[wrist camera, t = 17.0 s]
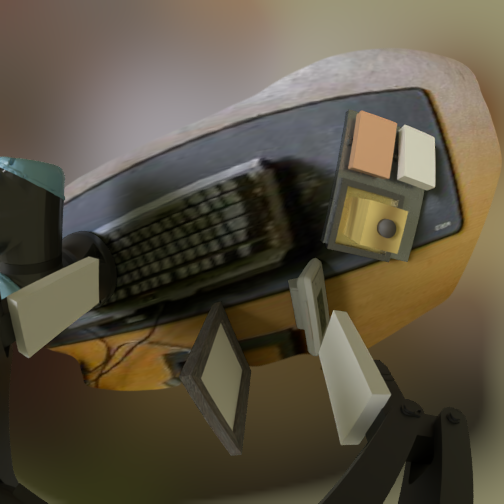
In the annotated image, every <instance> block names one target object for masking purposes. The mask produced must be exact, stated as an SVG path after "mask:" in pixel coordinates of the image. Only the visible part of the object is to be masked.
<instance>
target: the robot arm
mask: <svg viewBox="0 0 504 504" xmlns="http://www.w3.org/2000/svg"><path fill="white" fill-rule="evenodd" d="M64 181H65V175H64V172H63V170H62V169H61V168H60V167H58V166H56V165H53V164H49V163H44V162H40V161H34V160H27V159H20V158H10V157H0V504H48V503H47V502H45V501H44V500H42V499H41V498H39V497H38V496H36V495H35V494H34V493H32V492H31V491H29V490H28V489H27V488H25V487H24V486H23V485H21V484H20V483H18V481H17V479H16V477H15V474H14V471H13V466H12V459H11V448H10V434H9V388H10V374H11V363H12V354H13V348H12V343H13V342H14V341H16V343H17V347H18V351H19V352H20V353H22V354H23V355H25V356H26V357H28V358H30V357H31V356H32V355H33V354H35V353H36V352H37V351H38V350H39V349H41V348H42V347H43V346H44V345H46V344H47V343H48V342H49V341H51V340H52V339H53V338H54V337H55V336H57V335H58V334H59V333H60V332H62V331H63V330H64V329H66V328H67V327H68V326H69V325H71V324H72V323H73V322H74V321H76V320H77V319H78V318H80V317H81V316H82V315H83V314H85V313H86V312H87V311H89V310H90V309H91V308H96V307H98V306H100V305H102V304H103V303H105V302H106V301H107V300H108V299H109V298H110V297H111V296H112V295H113V293H114V290H115V287H116V283H117V271H116V265H115V262H114V259H113V256H112V254H111V252H110V250H109V249H108V247H107V246H106V244H105V243H104V242H103V241H102V240H101V239H100V238H99V237H97V236H96V235H94V234H92V233H90V232H86V231H79V232H75V233H72V234H69V235H67V236H66V237H64V238H63V239H62V224H63V205H64V200H65V196H64ZM318 354H319V358H320V361H321V365H322V369H323V373H324V377H325V381H326V385H327V389H328V392H329V397H330V401H331V405H332V409H333V413H334V417H335V422H336V426H337V430H338V434H339V439H340V443H341V445H350V444H351V445H355V444H359V443H360V442H361V440H362V439H363V437H364V436H365V435H366V438H367V441H368V443H367V444H366V446H365V447H364V448H363V450H362V451H361V452H360V453H359V455H358V456H357V457H356V459H355V461H354V462H353V463H352V465H351V466H350V467H349V468H348V470H347V471H346V472H345V473H344V475H343V476H342V477H341V478H340V480H339V481H338V482H337V483H336V484H335V485H334V487H333V488H332V489H331V490H330V491H329V492H328V494H327V495H326V496H325V497H324V498H323V499H322V500H321V501H320V502H319V503H318V504H383V502H384V500H385V498H386V497H387V495H388V494H389V492H390V490H391V488H392V487H393V485H394V483H395V481H396V479H397V477H398V475H399V473H400V471H401V469H402V467H403V465H404V463H405V461H406V465H405V470H404V476H403V482H402V487H401V492H400V497H399V501H398V504H473V471H472V457H471V448H470V439H469V432H468V426H467V420H466V418H465V416H464V415H463V413H462V412H461V411H459V410H458V409H455V408H452V407H447V408H444V409H443V410H442V411H441V412H440V414H439V415H438V416H433V415H427V414H424V411H423V409H422V408H421V406H420V405H418V404H417V403H416V402H414V401H411V400H408V399H405V398H404V396H403V394H402V393H401V391H400V389H399V387H398V385H397V384H396V382H395V381H394V378H393V377H392V375H391V373H390V372H389V370H388V368H387V367H386V366H385V365H384V364H383V363H382V362H381V361H380V360H373V359H372V357H371V355H370V353H369V351H368V349H367V348H366V346H365V344H364V342H363V340H362V339H361V337H360V335H359V333H358V331H357V330H356V328H355V326H354V324H353V322H352V321H351V319H350V317H349V315H348V314H347V312H343V311H337V310H333V312H332V315H331V319H330V322H329V325H328V327H327V330H326V333H325V336H324V339H323V342H322V345H321V347H320V350H319V353H318Z"/></svg>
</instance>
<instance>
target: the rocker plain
mask: <svg viewBox="0 0 504 504" xmlns="http://www.w3.org/2000/svg"><path fill="white" fill-rule="evenodd" d="M397 180H399V181H402V182H405V183H408V184H411V185H413V186H416V187H419V188H422V189H424V190H430V189H432V188H435V140H434V137H432V136H430V135H428V134H426V133H424V132H421V131H419V130H417V129H414V128H412V127H410V126H407V125H404V126H403V127H402V128H401V129H400V130H399V146H398V174H397Z"/></svg>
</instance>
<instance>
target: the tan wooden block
mask: <svg viewBox="0 0 504 504" xmlns="http://www.w3.org/2000/svg"><path fill="white" fill-rule="evenodd" d="M407 215H408V211H405V210H402V209H399V208H396V207H393V206H389V205H386V204H383V203H380V202H376V201H373V200H369V199H362V198H355V197H352V202H351V206H350V211H349V215H348V220H347V224H346V228H345V232H344V235H346V236H347V237H349V238H350V239H352V240H353V241H355V242H356V243H358V244H359V245H363V246H367V247H371V248H375V249H379V250H383V251H387V252H391V253H395V254H398V250H399V247H400V243H401V239H402V235H403V231H404V227H405V223H406V219H407Z"/></svg>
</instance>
